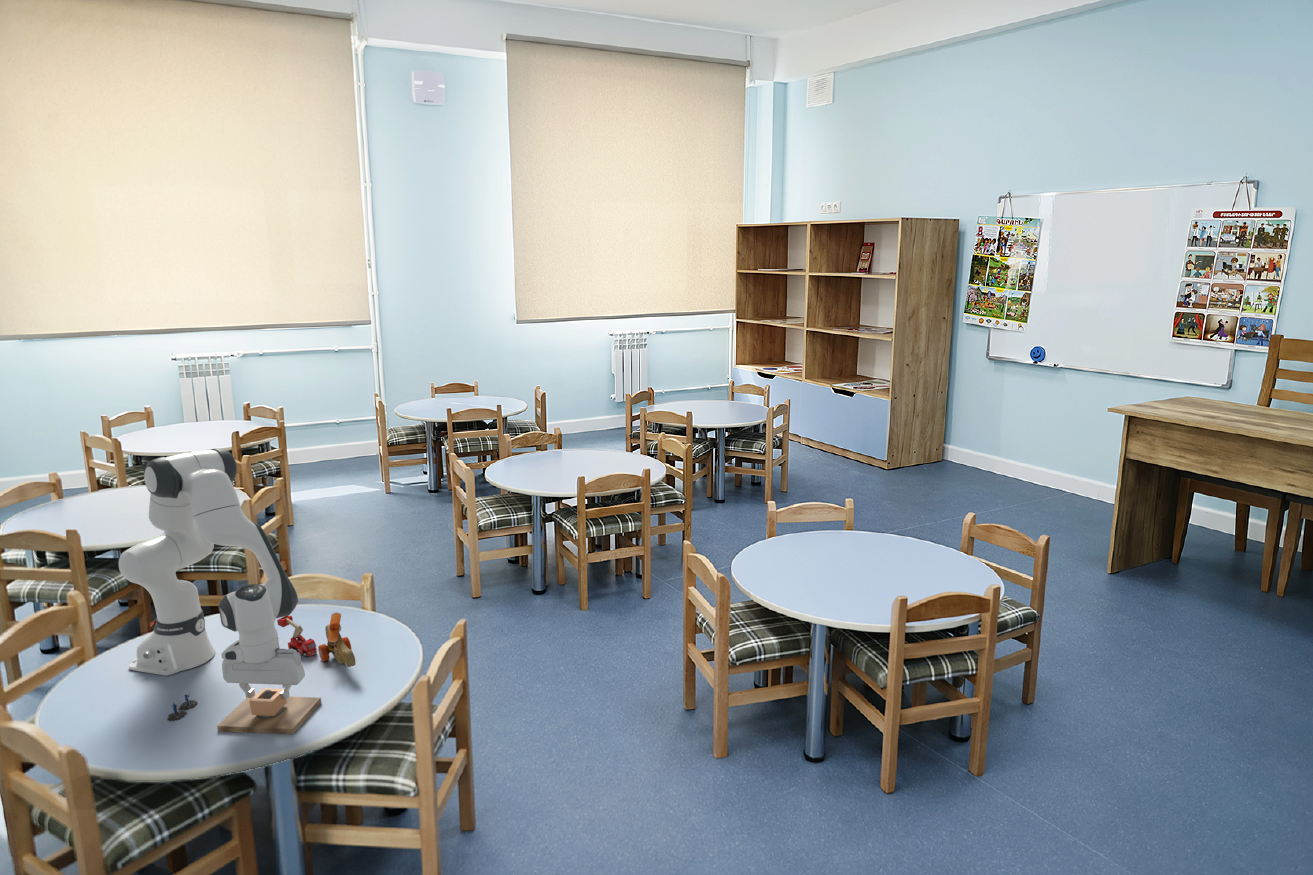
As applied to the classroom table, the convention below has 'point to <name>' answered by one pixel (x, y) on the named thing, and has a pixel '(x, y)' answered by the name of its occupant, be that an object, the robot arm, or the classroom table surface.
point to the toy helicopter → (336, 643)
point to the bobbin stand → (280, 723)
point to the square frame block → (267, 703)
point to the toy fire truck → (298, 638)
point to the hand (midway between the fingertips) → (267, 697)
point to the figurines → (184, 706)
